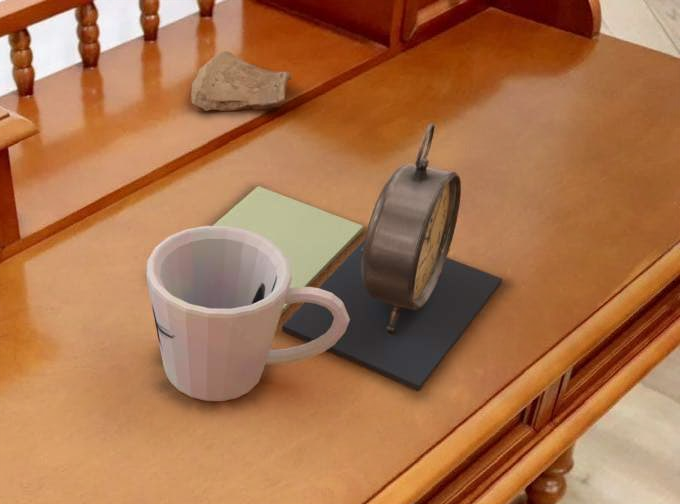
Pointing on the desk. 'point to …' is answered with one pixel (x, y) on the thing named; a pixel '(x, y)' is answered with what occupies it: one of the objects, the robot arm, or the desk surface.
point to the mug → (227, 309)
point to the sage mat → (294, 232)
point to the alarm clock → (410, 234)
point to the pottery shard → (237, 85)
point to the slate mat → (411, 327)
